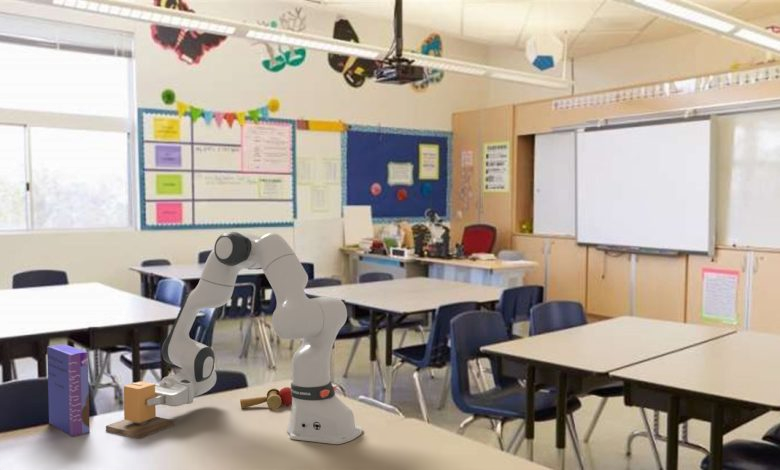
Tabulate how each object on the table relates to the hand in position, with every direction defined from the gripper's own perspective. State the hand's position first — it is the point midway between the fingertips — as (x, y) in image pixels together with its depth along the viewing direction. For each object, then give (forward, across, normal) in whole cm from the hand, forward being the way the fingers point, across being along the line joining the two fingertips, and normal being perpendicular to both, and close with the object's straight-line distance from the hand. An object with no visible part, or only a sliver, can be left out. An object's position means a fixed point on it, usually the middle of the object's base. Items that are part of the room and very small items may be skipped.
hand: (137, 400), depth 194 cm
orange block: (-1, 0, +6) cm, 6 cm away
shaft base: (-1, 0, +8) cm, 9 cm away
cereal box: (+9, -19, +9) cm, 23 cm away
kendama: (-36, +20, +9) cm, 42 cm away
